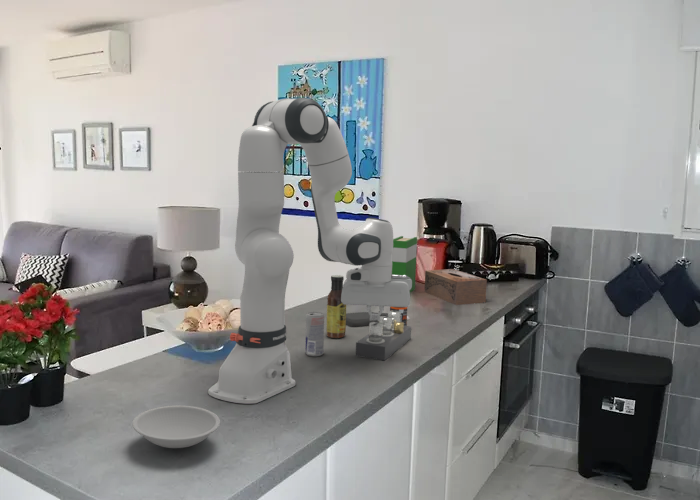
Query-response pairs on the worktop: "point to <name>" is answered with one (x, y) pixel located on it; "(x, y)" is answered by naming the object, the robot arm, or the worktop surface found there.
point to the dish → (176, 425)
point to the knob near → (375, 331)
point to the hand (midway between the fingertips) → (374, 320)
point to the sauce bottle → (336, 309)
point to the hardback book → (404, 258)
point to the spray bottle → (361, 319)
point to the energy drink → (314, 334)
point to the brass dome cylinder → (398, 327)
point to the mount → (382, 345)
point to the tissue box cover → (455, 286)
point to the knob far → (394, 316)
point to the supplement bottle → (403, 313)
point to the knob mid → (386, 324)
